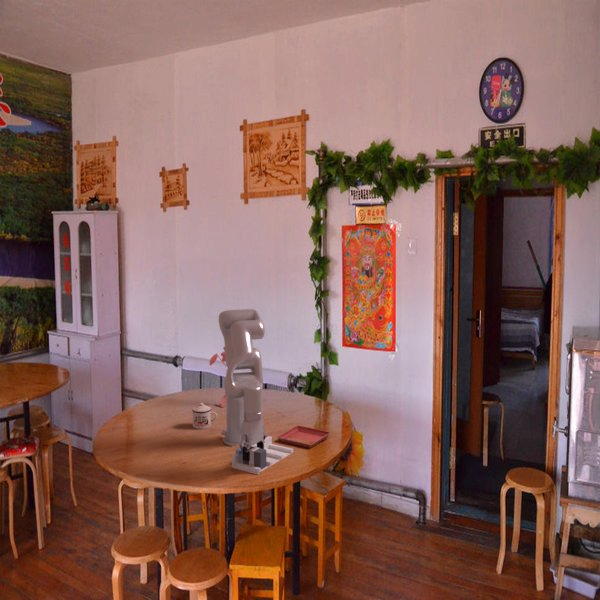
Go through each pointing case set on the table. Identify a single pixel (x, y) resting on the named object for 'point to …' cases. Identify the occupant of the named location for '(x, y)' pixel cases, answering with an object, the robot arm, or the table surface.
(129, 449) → the table surface
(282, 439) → the plant saucer
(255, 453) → the block
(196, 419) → the teacup with lid
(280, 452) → the white ribbed panel
